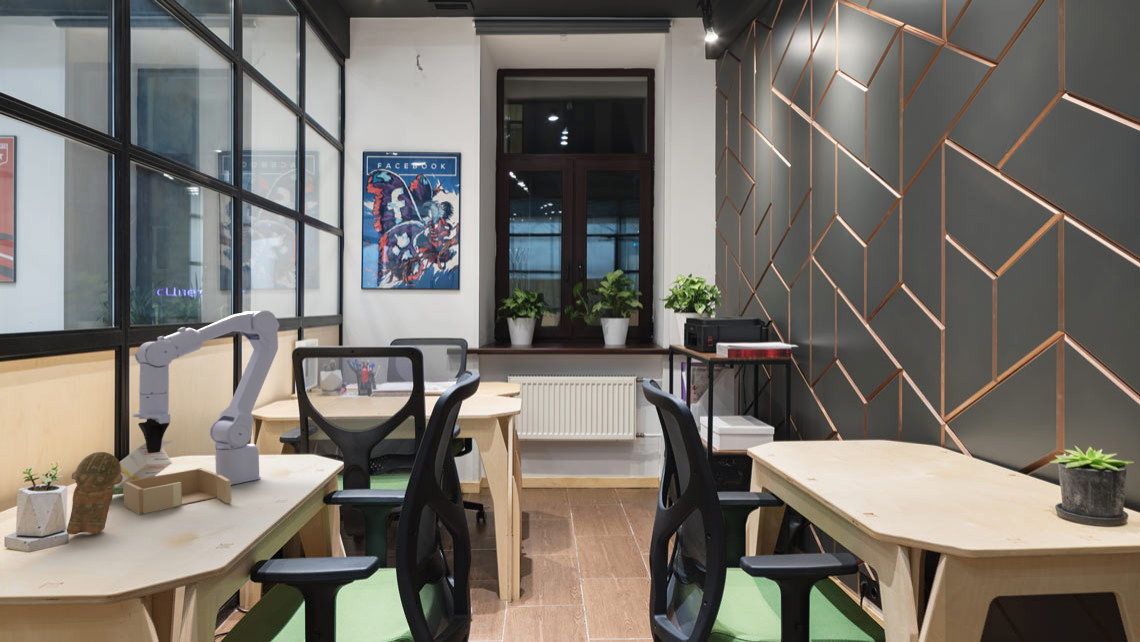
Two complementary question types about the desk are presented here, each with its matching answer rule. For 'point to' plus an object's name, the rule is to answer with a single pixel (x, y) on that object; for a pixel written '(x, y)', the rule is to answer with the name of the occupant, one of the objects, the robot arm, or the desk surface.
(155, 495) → the flap
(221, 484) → the flap
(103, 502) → the figurine
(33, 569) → the desk surface
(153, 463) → the ink box
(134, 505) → the carton
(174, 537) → the desk surface
